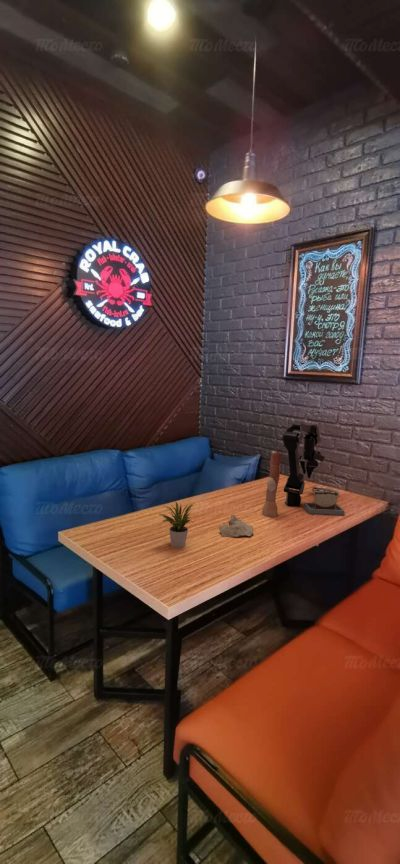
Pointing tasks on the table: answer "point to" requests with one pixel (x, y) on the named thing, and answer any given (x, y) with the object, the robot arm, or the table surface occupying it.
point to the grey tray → (323, 510)
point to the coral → (236, 528)
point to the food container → (325, 498)
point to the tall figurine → (272, 486)
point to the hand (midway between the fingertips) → (306, 475)
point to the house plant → (178, 525)
